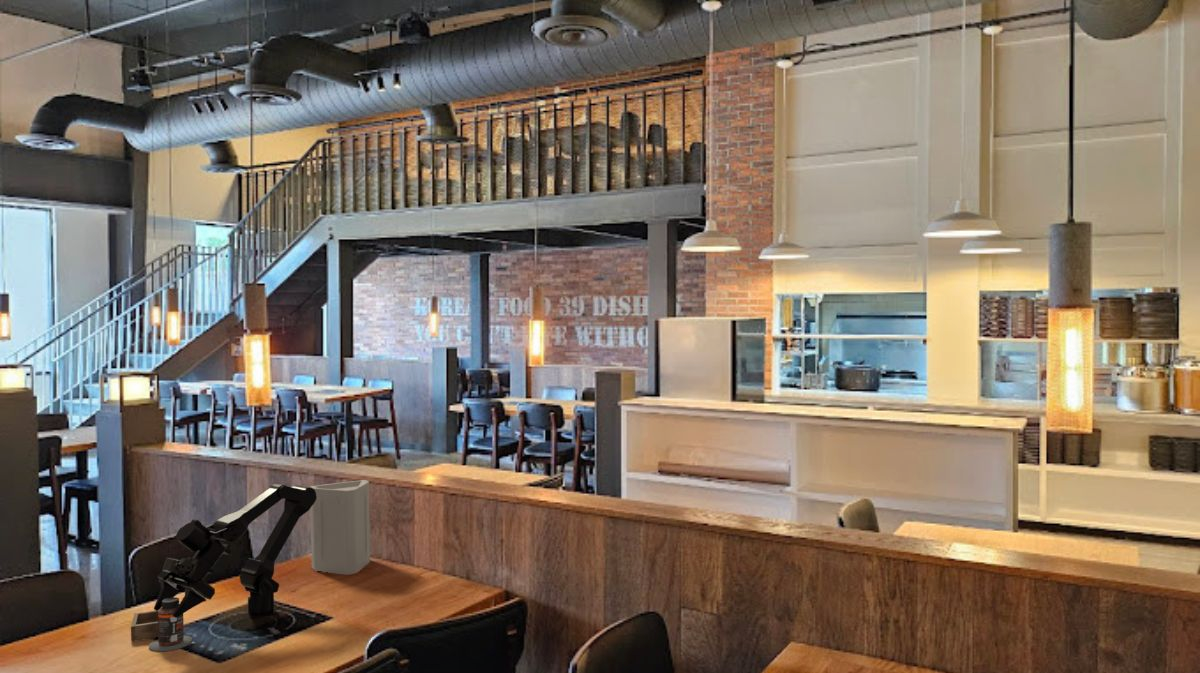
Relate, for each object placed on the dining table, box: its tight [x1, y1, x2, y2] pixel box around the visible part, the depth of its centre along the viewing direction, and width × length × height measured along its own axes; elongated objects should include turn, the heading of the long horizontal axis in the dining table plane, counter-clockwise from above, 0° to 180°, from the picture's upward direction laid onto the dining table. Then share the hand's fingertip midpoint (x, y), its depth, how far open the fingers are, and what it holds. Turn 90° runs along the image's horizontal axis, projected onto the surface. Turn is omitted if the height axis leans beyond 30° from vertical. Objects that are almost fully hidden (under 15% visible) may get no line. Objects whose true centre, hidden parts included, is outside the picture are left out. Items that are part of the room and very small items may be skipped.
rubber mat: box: [148, 634, 193, 653], centre depth 216 cm, size 10×10×1 cm
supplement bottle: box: [157, 596, 185, 646], centre depth 216 cm, size 6×6×11 cm
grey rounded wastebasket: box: [309, 479, 371, 576], centre depth 280 cm, size 19×15×28 cm
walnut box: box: [130, 609, 159, 642], centre depth 225 cm, size 11×11×4 cm
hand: (164, 613), depth 215 cm, fingers open, 9 cm apart
